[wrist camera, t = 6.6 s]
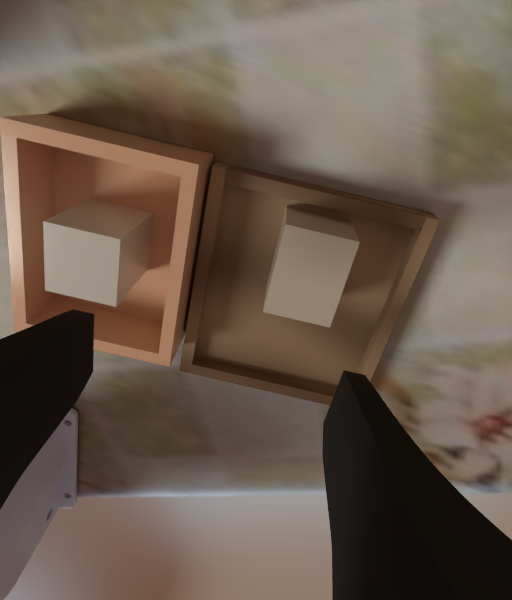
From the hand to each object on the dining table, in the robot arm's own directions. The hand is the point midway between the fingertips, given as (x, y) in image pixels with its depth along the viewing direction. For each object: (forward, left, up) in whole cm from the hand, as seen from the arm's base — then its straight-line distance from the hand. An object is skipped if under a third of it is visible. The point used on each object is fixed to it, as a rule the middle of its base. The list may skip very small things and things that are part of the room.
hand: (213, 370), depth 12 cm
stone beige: (+1, -3, -9) cm, 10 cm away
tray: (-2, -3, -10) cm, 10 cm away
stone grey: (-2, +6, -7) cm, 10 cm away
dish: (-1, +6, -10) cm, 11 cm away
